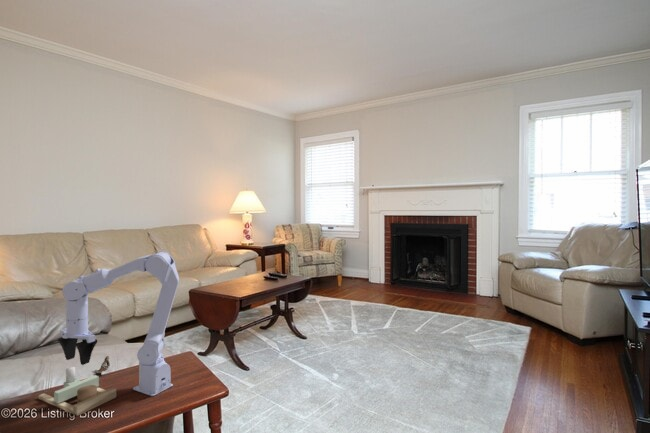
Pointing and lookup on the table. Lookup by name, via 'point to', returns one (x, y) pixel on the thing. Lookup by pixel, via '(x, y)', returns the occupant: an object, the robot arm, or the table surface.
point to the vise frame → (84, 405)
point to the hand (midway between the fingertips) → (77, 361)
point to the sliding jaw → (73, 385)
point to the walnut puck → (86, 392)
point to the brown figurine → (103, 366)
